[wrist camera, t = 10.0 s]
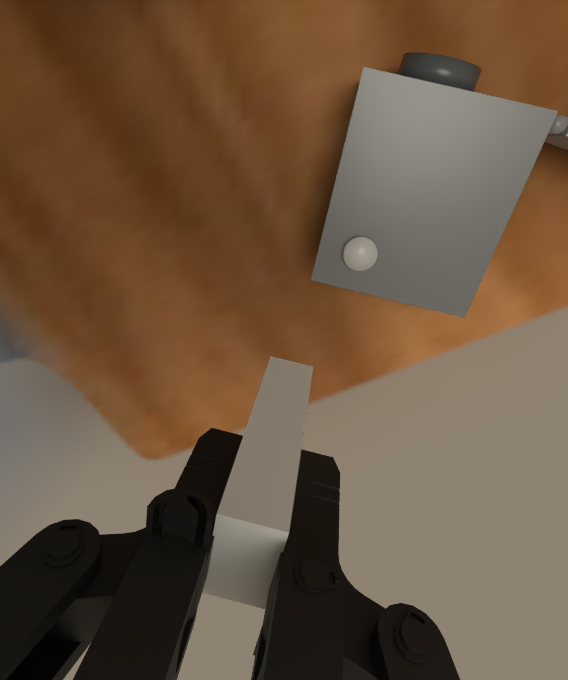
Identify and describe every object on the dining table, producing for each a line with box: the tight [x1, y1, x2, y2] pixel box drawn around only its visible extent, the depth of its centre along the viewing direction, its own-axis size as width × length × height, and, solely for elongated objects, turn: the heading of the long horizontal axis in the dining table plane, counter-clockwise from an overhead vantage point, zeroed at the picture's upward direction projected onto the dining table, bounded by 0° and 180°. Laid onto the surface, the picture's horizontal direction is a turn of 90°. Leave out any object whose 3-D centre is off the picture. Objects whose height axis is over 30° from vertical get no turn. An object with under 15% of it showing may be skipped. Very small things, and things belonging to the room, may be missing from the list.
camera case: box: [311, 53, 568, 318], centre depth 31 cm, size 16×13×9 cm
